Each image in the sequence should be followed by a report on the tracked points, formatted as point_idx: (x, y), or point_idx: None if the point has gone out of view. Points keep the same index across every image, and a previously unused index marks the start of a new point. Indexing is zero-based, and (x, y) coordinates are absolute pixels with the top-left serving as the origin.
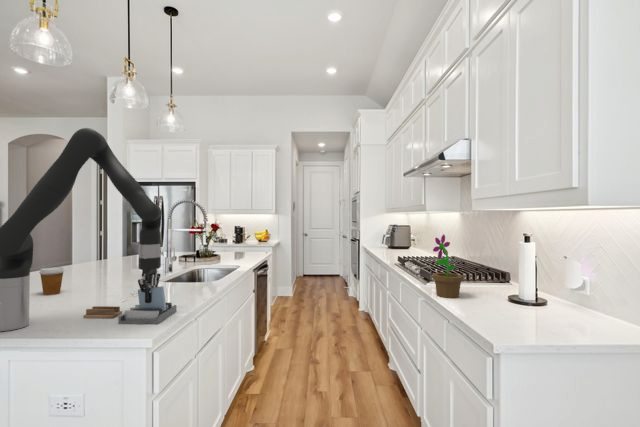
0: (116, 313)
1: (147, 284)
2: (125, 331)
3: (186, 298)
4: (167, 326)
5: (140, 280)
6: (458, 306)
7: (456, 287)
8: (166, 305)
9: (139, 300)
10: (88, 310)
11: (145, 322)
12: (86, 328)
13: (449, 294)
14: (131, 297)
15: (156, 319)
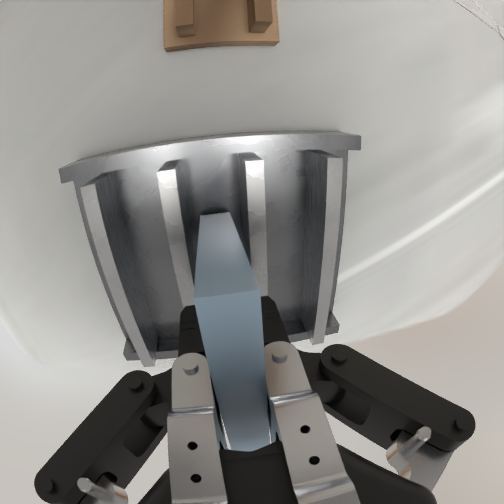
0: (219, 34)
1: (131, 475)
2: (24, 268)
3: (483, 244)
4: (125, 369)
5: (53, 498)
6: None
7: None
8: None
9: (199, 249)
10: None
11: (111, 297)
12: (11, 70)
13: None
14: (497, 30)
15: (126, 346)
